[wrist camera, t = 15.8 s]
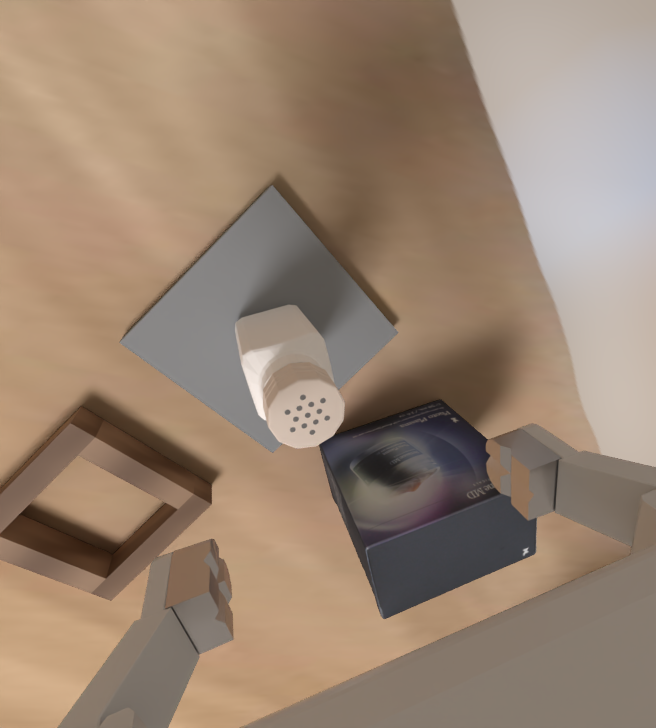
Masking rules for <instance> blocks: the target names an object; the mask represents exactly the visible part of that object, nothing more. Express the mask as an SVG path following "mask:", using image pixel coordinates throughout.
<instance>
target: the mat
mask: <svg viewBox="0 0 656 728" xmlns="http://www.w3.org/2000/svg"><path fill="white" fill-rule="evenodd" d="M285 305H297V307H298V308H299V309H300V310H301V312H302V313H303V314H304V315H305V316H306V318H307V319H308V320H309V321H310V322H311V324H312V325H313V326H314V327H315V329H316V330H317V331H318V332H319V334H320V335H321V336H322V337H323V339H324V341H325V345H326V348H327V352H328V356H329V360H330V364H331V368H332V373H333V378H334V384H335V385H336V387H337V388H338V390H339V389H340V388H341V387H342V386H343V385H344V384H345V383H346V382H347V381H348V380H349V379H350V378H352V377H353V376H354V375H355V374H356V373H357V372H358V371H359V370H360V369H361V368H362V367H363V366H364V365H365V364H366V363H367V362H368V361H369V360H370V359H371V358H372V357H373V356H375V355H376V354H377V353H378V352H379V351H380V350H381V349H382V348H383V347H384V346H385V345H386V344H387V343H388V342H389V341H390V340H391V339H392V338H393V337H394V336H395V335H396V334H398V331H397V330H396V329H395V328H394V327H393V326H392V324H391V323H390V322H389V321H388V320H387V319H386V317H385V316H384V315H383V314H382V313H381V312H380V310H379V309H378V308H377V307H376V306H375V305H374V303H373V302H372V301H371V300H370V299H369V297H368V296H367V295H366V294H365V293H364V292H363V290H362V289H361V288H360V287H359V286H358V285H357V283H356V282H355V281H354V280H353V279H352V278H351V276H350V275H349V274H348V273H347V272H346V271H345V269H344V268H343V267H342V266H341V265H340V264H339V262H338V261H337V260H336V259H335V258H334V257H333V255H332V254H331V253H330V252H329V251H328V250H327V248H326V247H325V246H324V245H323V244H322V243H321V241H320V240H319V239H318V238H317V237H316V235H315V234H314V233H313V232H312V231H311V230H310V228H309V227H308V226H307V225H306V224H305V223H304V221H303V220H302V219H301V218H300V217H299V216H298V214H297V213H296V212H295V211H294V210H293V209H292V207H291V206H290V205H289V204H288V203H287V202H286V200H285V199H284V198H283V197H282V196H281V195H280V193H279V192H278V191H277V190H276V189H275V188H274V186H273V185H271V186H269V187H268V188H267V189H266V190H265V191H264V192H263V193H262V194H261V195H260V196H259V197H258V198H257V199H256V200H255V201H254V202H253V203H252V205H251V206H250V207H249V208H248V209H247V210H246V211H245V212H244V213H243V214H242V215H241V216H240V217H239V218H238V219H237V220H236V221H235V222H234V223H233V224H232V225H231V226H230V227H229V228H228V229H227V230H226V231H225V232H224V233H223V234H222V235H221V236H220V238H219V239H218V240H217V241H216V242H215V243H214V244H213V245H212V246H211V247H210V248H209V249H208V250H207V251H206V252H205V253H204V254H203V255H202V256H201V257H200V258H199V259H198V260H197V261H196V262H195V263H194V264H193V265H192V266H191V267H190V268H189V269H188V270H187V272H186V273H185V274H184V275H183V276H182V277H181V278H180V279H179V280H178V281H177V282H176V283H175V284H174V285H173V286H172V287H171V288H170V289H169V290H168V291H167V292H166V293H165V294H164V295H163V296H162V297H161V298H160V299H159V300H158V301H157V302H156V303H155V304H154V306H153V307H152V308H151V309H150V310H149V311H148V312H147V313H146V314H145V315H144V316H143V317H142V318H141V319H140V320H139V321H138V322H137V323H136V324H135V325H134V326H133V327H132V328H131V329H130V330H129V331H128V332H127V333H126V334H125V335H124V336H123V338H122V339H121V341H120V342H119V343H121V344H122V345H123V346H125V347H126V348H128V349H129V350H130V351H132V352H133V353H135V354H136V355H137V356H139V357H140V358H141V359H143V360H144V361H146V362H147V363H148V364H150V365H151V366H153V367H154V368H155V369H157V370H158V371H160V372H161V373H162V374H164V375H165V376H166V377H168V378H169V379H171V380H172V381H173V382H175V383H176V384H178V385H179V386H180V387H182V388H183V389H185V390H186V391H187V392H189V393H190V394H191V395H193V396H194V397H196V398H197V399H198V400H200V401H201V402H203V403H204V404H205V405H207V406H208V407H210V408H211V409H212V410H214V411H215V412H216V413H218V414H219V415H221V416H222V417H223V418H225V419H226V420H228V421H229V422H230V423H232V424H233V425H235V426H236V427H237V428H239V429H240V430H241V431H243V432H244V433H246V434H247V435H248V436H250V437H251V438H253V439H254V440H255V441H257V442H258V443H260V444H261V445H262V446H264V447H265V448H266V449H268V450H269V451H271V452H272V453H273V452H274V451H275V450H276V449H277V448H278V447H279V446H280V445H282V444H283V443H281V442H279V441H278V440H277V439H276V437H275V436H274V435H273V433H272V432H271V430H270V429H269V428H268V425H267V421H266V420H264V419H262V418H261V417H260V416H259V415H258V413H257V410H256V407H255V404H254V401H253V398H252V395H251V392H250V389H249V386H248V383H247V380H246V377H245V374H244V371H243V368H242V365H241V360H240V355H239V349H238V344H237V339H236V333H235V324H236V322H237V321H238V320H239V319H241V318H242V317H246V316H249V315H253V314H256V313H260V312H264V311H267V310H271V309H274V308H278V307H282V306H285Z"/></svg>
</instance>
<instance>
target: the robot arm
mask: <svg viewBox="0 0 656 728" xmlns="http://www.w3.org/2000/svg"><path fill="white" fill-rule="evenodd" d="M486 452H487V453H489V454H490V455H491V456H490V457H489V459H488V461H487V463H486V466H487V473H488V476H489V478H490V481H491V482H492V484H493V485H494V487H495V488H496V489H497V490H498V491H499V492H500V493H501V494H504V495H507V496H510V497H511V504H512V505H513V506H514V507H515V508H516V509H517V510H518V511H519V512H520V513H521V514H522V515H523V516H524V517H525V518H526V519H527V520H528V521H529V520H531V519H534V518H537V517H540V516H542V515H545V514H548V513H550V512H553V511H555V513H557V514H560V515H562V516H564V517H566V518H569V519H571V520H573V521H575V522H578V523H580V524H582V525H584V526H587V527H589V528H591V529H593V530H595V531H598V532H600V533H602V534H604V535H607V536H609V537H611V538H613V539H616V540H618V541H620V542H622V543H625V544H627V545H629V546H631V547H632V548H631V553H630V555H629V556H627V557H625V558H623V559H620V560H618V561H616V562H614V563H611V564H609V565H607V566H604V567H602V568H600V569H598V570H595V571H593V572H591V573H589V574H586V575H584V576H582V577H580V578H577V579H575V580H573V581H571V582H568V583H566V584H564V585H561V586H559V587H557V588H555V589H552V590H550V591H548V592H546V593H543V594H541V595H539V596H537V597H534V598H532V599H530V600H528V601H525V602H523V603H521V604H519V605H516V606H514V607H512V608H510V609H507V610H505V611H503V612H501V613H498V614H496V615H494V616H491V617H489V618H487V619H485V620H482V621H480V622H478V623H476V624H473V625H471V626H469V627H467V628H464V629H462V630H460V631H458V632H455V633H453V634H451V635H449V636H446V637H444V638H442V639H439V640H437V641H435V642H433V643H430V644H428V645H426V646H424V647H421V648H419V649H417V650H415V651H412V652H410V653H408V654H405V655H403V656H401V657H399V658H396V659H394V660H392V661H390V662H387V663H385V664H383V665H381V666H378V667H376V668H374V669H371V670H369V671H367V672H365V673H362V674H360V675H358V676H356V677H353V678H351V679H349V680H347V681H344V682H342V683H340V684H338V685H335V686H333V687H331V688H328V689H326V690H324V691H322V692H319V693H317V694H315V695H313V696H310V697H308V698H306V699H304V700H301V701H299V702H297V703H294V704H292V705H290V706H288V707H285V708H283V709H281V710H279V711H276V712H274V713H272V714H270V715H267V716H265V717H263V718H260V719H258V720H256V721H254V722H251V723H249V724H247V725H245V726H242V727H240V728H656V467H652V466H648V465H643V464H639V463H635V462H630V461H626V460H622V459H618V458H613V457H609V456H604V455H600V454H596V453H592V452H587V451H581V452H578V451H577V450H575V449H574V448H572V447H571V446H569V445H568V444H566V443H565V442H563V441H562V440H560V439H559V438H557V437H556V436H554V435H553V434H551V433H550V432H548V431H547V430H545V429H544V428H542V427H541V426H539V425H537V424H534V423H531V424H529V425H526V426H523V427H521V428H518V429H517V430H513V431H510V432H507V433H505V434H502V435H499V436H497V437H494V438H491V439H488V440H487V443H486ZM231 598H232V589H231V581H230V576H229V572H228V569H227V566H226V563H225V561H224V559H221V558H219V548H218V546H217V544H216V542H215V540H214V539H209V540H206V541H203V542H200V543H197V544H194V545H191V546H188V547H185V548H182V549H179V550H176V551H174V552H172V553H168V554H165V555H162V556H159V557H156V558H154V560H153V561H152V563H151V566H150V572H149V577H148V582H147V587H146V593H145V598H144V603H143V609H142V614H141V619H139V620H137V621H134V623H133V624H132V625H131V627H130V628H129V629H128V631H127V632H126V634H125V635H124V636H123V638H122V639H121V640H120V642H119V643H118V645H117V646H116V647H115V649H114V650H113V652H112V653H111V654H110V656H109V657H108V658H107V660H106V661H105V663H104V664H103V665H102V667H101V668H100V670H99V671H98V672H97V674H96V675H95V676H94V678H93V679H92V681H91V682H90V683H89V685H88V686H87V687H86V689H85V690H84V692H83V693H82V694H81V696H80V697H79V699H78V700H77V701H76V703H75V704H74V705H73V707H72V708H71V710H70V711H69V712H68V714H67V715H66V716H65V718H64V719H63V721H62V722H61V723H60V725H59V726H58V728H168V727H169V724H170V722H171V720H172V718H173V715H174V713H175V711H176V709H177V706H178V704H179V702H180V700H181V697H182V695H183V693H184V691H185V688H186V686H187V684H188V682H189V679H190V677H191V675H192V673H193V670H194V668H195V666H196V664H197V661H198V659H199V654H201V653H204V652H206V651H208V650H211V649H213V648H215V647H218V646H220V645H222V644H224V643H227V642H229V641H231V640H233V613H232V611H231V609H230V607H229V605H228V603H229V601H230V600H231Z"/></svg>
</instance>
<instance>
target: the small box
mask: <svg viewBox="0 0 656 728" xmlns="http://www.w3.org/2000/svg"><path fill="white" fill-rule="evenodd" d="M487 440H488V439H486V438H485V437H484V436H483V435H482V434H481V433H479V432H478V431H477V430H476V429H475V428H474V427H472V426H471V425H470V424H469V423H468V422H467V421H465V420H464V419H463V418H462V417H461V416H460V415H458V414H457V413H456V412H455V411H454V410H453V409H452V408H450V407H449V406H448V405H447V404H446V403H445V402H443V400H437V401H434V402H431V403H428V404H425V405H422V406H420V407H416V408H414V409H411V410H408V411H405V412H402V413H399V414H396V415H393V416H390V417H387V418H384V419H381V420H378V421H375V422H372V423H370V424H366V425H363V426H360V427H357V428H354V429H352V430H348V431H346V432H342V433H340V434H337V435H334V436H332V437H331V438H329V439H327V440H326V441H324V442H322V443H321V444H319V447H320V451H321V455H322V459H323V462H324V466H325V470H326V474H327V478H328V481H329V485H330V489H331V493H332V496H333V499H334V501H335V503H336V504H337V506H338V508H339V511H340V513H341V515H342V518H343V520H344V523H345V525H346V527H347V530H348V532H349V535H350V537H351V539H352V542H353V545H354V547H355V549H356V552H357V554H358V557H359V559H360V562H361V564H362V567H363V569H364V570H365V573H366V576H367V578H368V580H369V583H370V585H371V587H372V591H373V593H374V595H375V599H376V602H377V606H378V609H379V611H380V614H381V616H382V618H383V619H386V618H389V617H391V616H393V615H395V614H398V613H400V612H402V611H405V610H407V609H409V608H411V607H414V606H416V605H418V604H420V603H423V602H425V601H428V600H430V599H432V598H434V597H437V596H439V595H441V594H444V593H446V592H448V591H451V590H453V589H455V588H458V587H460V586H462V585H464V584H467V583H469V582H471V581H474V580H476V579H478V578H480V577H483V576H485V575H488V574H490V573H492V572H495V571H497V570H499V569H501V568H503V567H506V566H508V565H511V564H513V563H516V562H518V561H520V560H523V559H525V558H527V557H529V556H532V555H534V554H535V553H536V531H537V518H534V519H531V520H529V521H528V520H527V519H526V518H525V517H524V516H523V515H522V514H521V513H520V512H519V511H518V510H517V509H516V508H515V507H514V506H513V505H512V504H511V497H510V496H507V495H504V494H501V493H500V492H499V491H498V490H497V489H496V488H495V487H494V485H493V484H492V482H491V481H490V478H489V476H488V473H487V466H486V463H487V461H488V459H489V457H490V456H491V455H490V454H489V453H487V452H486V443H487Z"/></svg>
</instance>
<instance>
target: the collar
mask: <svg viewBox="0 0 656 728" xmlns="http://www.w3.org/2000/svg"><path fill="white" fill-rule="evenodd" d="M77 456H80V457H82V458H84V459H86V460H87V461H89V462H91V463H93V464H95V465H97V466H99V467H100V468H102V469H104V470H106V471H108V472H110V473H112V474H113V475H115V476H117V477H119V478H121V479H123V480H125V481H126V482H128V483H130V484H132V485H134V486H136V487H137V488H139V489H141V490H143V491H145V492H147V493H149V494H150V495H152V496H154V497H156V498H158V499H160V500H162V501H163V502H165V504H164V505H163V506H162V507H161V508H160V509H159V510H158V511H157V512H156V513H155V514H154V515H153V516H152V517H151V518H150V519H149V520H148V521H147V522H146V523H145V524H144V525H143V526H142V527H141V528H140V529H139V530H138V531H136V532H135V533H134V534H133V535H132V536H131V537H130V538H129V539H128V540H127V541H126V542H125V543H124V544H123V545H122V546H121V547H120V548H119V549H118V550H117V551H116V552H115V553H114V554H110V553H108V552H106V551H104V550H101V549H99V548H97V547H94V546H92V545H90V544H87V543H85V542H83V541H80V540H78V539H76V538H73V537H71V536H69V535H67V534H64V533H62V532H60V531H57V530H55V529H53V528H50V527H48V526H46V525H43V524H41V523H39V522H37V521H34V520H32V519H30V518H27V517H25V516H23V515H20V513H21V512H22V511H23V510H24V509H25V508H26V507H27V506H28V505H29V504H30V503H31V502H32V501H33V500H34V499H35V498H36V497H37V496H38V495H39V494H40V493H41V492H42V491H43V490H44V489H45V488H46V487H47V486H48V485H49V484H50V483H51V482H52V481H53V480H54V479H55V478H56V477H57V476H58V475H59V474H60V473H61V472H62V471H63V470H64V469H65V468H66V467H67V466H68V465H69V464H70V463H71V462H72V461H73V460H74V459H75V458H76V457H77ZM210 505H212V485H211V484H209V483H208V482H206V481H204V480H203V479H201V478H199V477H198V476H196V475H194V474H193V473H191V472H189V471H188V470H186V469H185V468H183V467H181V466H180V465H178V464H176V463H175V462H173V461H171V460H170V459H168V458H166V457H165V456H163V455H161V454H160V453H158V452H156V451H155V450H153V449H151V448H150V447H148V446H146V445H145V444H143V443H141V442H140V441H138V440H137V439H135V438H133V437H132V436H130V435H128V434H127V433H125V432H123V431H122V430H120V429H118V428H117V427H115V426H113V425H112V424H110V423H108V422H107V421H105V420H103V419H102V418H100V417H98V416H97V415H95V414H93V413H92V412H90V411H89V410H87V409H85V408H84V407H82V406H81V407H80V408H79V409H78V410H77V411H76V412H75V413H74V414H73V415H72V416H71V417H70V418H69V419H68V420H67V421H66V422H65V423H64V424H63V425H62V426H61V427H60V428H59V429H58V430H57V431H56V432H55V433H54V434H53V435H52V436H51V437H50V439H49V440H48V441H47V442H46V443H45V444H44V445H43V446H42V447H41V448H40V449H39V450H38V451H37V452H36V453H35V454H34V455H33V456H32V457H31V458H30V459H29V460H28V461H27V462H26V463H25V464H24V465H23V466H22V467H21V468H20V469H19V470H18V471H17V472H16V473H15V474H14V475H13V476H12V477H11V478H10V479H9V480H8V481H7V483H6V484H5V485H4V486H3V487H2V488H1V489H0V560H2V561H5V562H8V563H10V564H13V565H16V566H19V567H21V568H24V569H27V570H29V571H32V572H35V573H37V574H40V575H43V576H46V577H48V578H51V579H54V580H56V581H59V582H62V583H64V584H67V585H70V586H72V587H75V588H78V589H81V590H83V591H86V592H89V593H91V594H94V595H97V596H99V597H102V598H105V599H108V600H110V601H111V600H112V599H114V598H115V597H116V596H117V595H118V594H119V593H120V592H121V591H122V590H123V589H124V588H125V587H126V586H127V585H128V584H129V583H130V582H131V581H132V580H133V579H134V578H135V577H136V576H137V575H139V574H140V573H141V572H142V571H143V570H144V569H145V568H146V567H147V566H148V565H149V564H150V563H151V562H152V561H153V560H154V558H156V557H157V556H158V555H159V554H160V553H161V552H163V551H164V550H165V549H166V548H167V547H168V546H169V545H170V544H171V543H172V542H173V541H174V540H175V539H176V538H177V537H178V536H179V535H180V534H181V533H182V532H183V531H184V530H185V529H187V528H188V527H189V526H190V525H191V524H192V523H193V522H194V521H195V520H196V519H197V518H198V517H199V516H200V515H201V514H202V513H203V512H204V511H205V510H206V509H207V508H208V507H209V506H210Z"/></svg>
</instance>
